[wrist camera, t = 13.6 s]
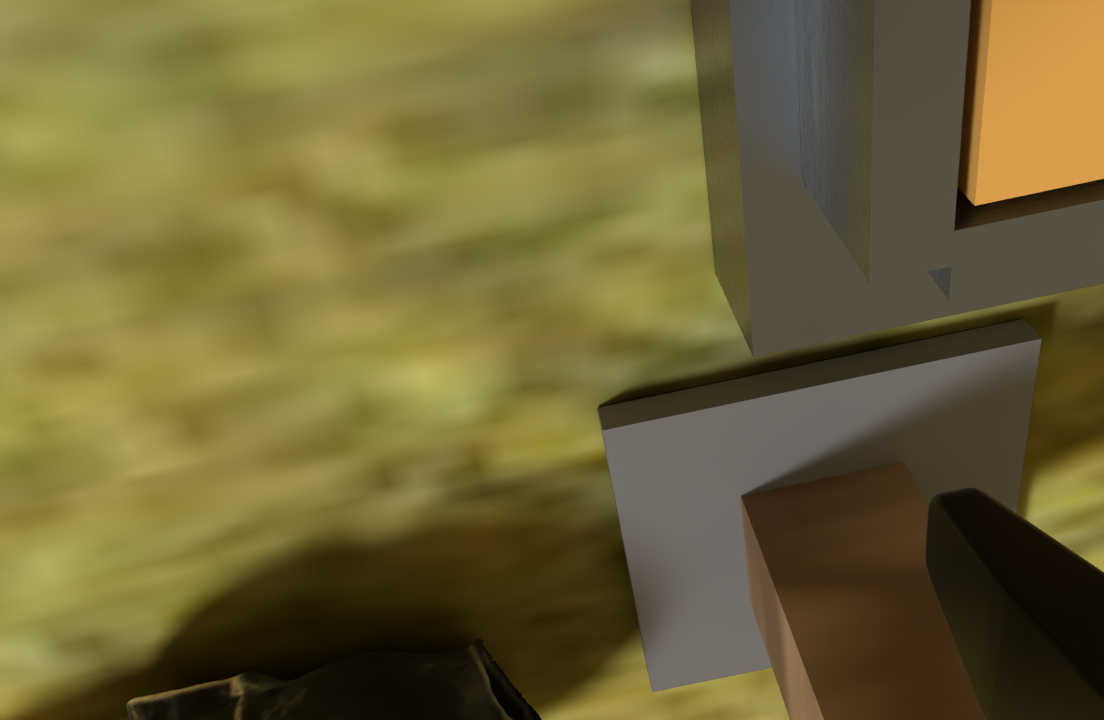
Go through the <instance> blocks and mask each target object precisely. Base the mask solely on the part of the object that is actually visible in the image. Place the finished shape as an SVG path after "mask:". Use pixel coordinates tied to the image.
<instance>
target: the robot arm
mask: <svg viewBox="0 0 1104 720" xmlns="http://www.w3.org/2000/svg"><path fill="white" fill-rule="evenodd" d="M925 559H926V565H927V570H928V574H929V577H930V580H931V582H932V585H933V588H934V590H935V593H936V595H937V598H938V600H939V603H940V606H941V608H942V611H943V613H944V616H945V618H946V621H947V624H948V626H949V629H950V631H951V634H952V637H953V639H954V642H955V644H956V647H957V649H958V652H959V655H960V657H961V660H962V662H963V665H964V667H965V670H966V673H967V675H968V678H969V680H970V683H971V685H972V688H973V691H974V693H975V696H976V698H977V701H978V703H979V706H980V708H981V711H982V713H983V716H984V718H985V720H1104V572H1102V571H1101V570H1099V569H1098V568H1097V567H1095V566H1094V565H1092V564H1091V563H1089V562H1088V561H1086V560H1085V559H1083V558H1082V557H1080V556H1079V555H1077V554H1076V553H1074V552H1073V551H1071V550H1070V549H1068V548H1067V547H1065V546H1064V545H1062V544H1061V543H1059V542H1058V541H1056V540H1055V539H1053V538H1052V537H1050V536H1049V535H1047V534H1046V533H1044V532H1043V531H1042V530H1040V529H1039V528H1037V527H1036V526H1034V525H1033V524H1031V523H1030V522H1028V521H1027V520H1025V519H1024V518H1022V517H1021V516H1019V515H1018V514H1016V513H1015V512H1013V511H1012V510H1010V509H1009V508H1007V507H1006V506H1004V505H1003V504H1001V503H1000V502H998V501H997V500H995V499H994V498H992V497H991V496H990V495H988V494H987V493H985V492H983V491H982V490H979V489H977V488H972V487H969V488H962V489H958V490H953V491H948V492H943V493H938V494H936V495H934V496H933V497H932V498H931V500H930V501H929V506H928V517H927V532H926V547H925Z"/></svg>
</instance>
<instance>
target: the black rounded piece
mask: <svg viewBox="0 0 1104 720" xmlns="http://www.w3.org/2000/svg"><path fill="white" fill-rule="evenodd" d="M483 641H484V640H483ZM483 641H481V639H480V638H479V639H478V640H476V641H475V642H474V643H473V644H472V645H471V646H469V647H468V648H466V649H464V650H462V651H460V652H455V653H419V654H414V653H407V652H400V651H393V650H386V651H373V652H365V653H359V654H355V655H352V656H350V657H348V658H345V659H342V660H340V661H337V662H334V663H331V664H329V665H326V666H324V667H321V668H319V669H316V670H314V671H312V672H309V673H307V674H305V675H303V676H301V677H299V678H297V679H294V680H291V681H282V680H280V679H277V678H274V677H271V676H268V675H265V674H262V673H259V672H253V671H251V672H245V673H242V674H240V675H238V676H235V677H232V678H229V679H224V680H219V681H214V682H208V683H202V684H196V685H191V686H186V687H182V688H178V689H174V690H169V691H165V692H161V693H156V694H150V695H144V696H138V697H135V698H133V699H132V700H130V701H129V702H128V703H127V705H126V709H127V712H128V718H129V720H541V718H540V716H539V715H538V713H537V712H536V711H535V710H534V709H533V708H532V707H531V706H530V705H529V704H528V703H527V702H526V700H525V699H524V698H523V697H522V695H521V694H522V693H519V692H518V690H517V689H516V688H515V687H514V686H513V685H512V684H511V682H510V681H509V680H508V678H507V677H506V676H505V674H504V673H503V671H502V670H501V668H500V667H499V666H498V664H497V663H496V662H495V661H490V660H492V657H491V655H490V654H489V653H488V652H487V650H486V648H485V647H484V646H483V645H482V643H483Z"/></svg>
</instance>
